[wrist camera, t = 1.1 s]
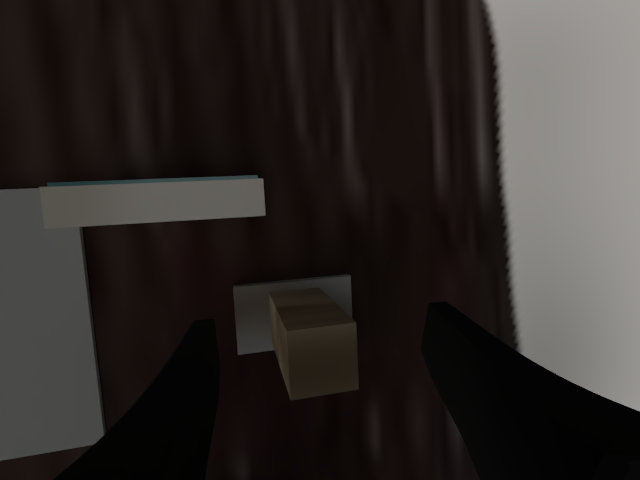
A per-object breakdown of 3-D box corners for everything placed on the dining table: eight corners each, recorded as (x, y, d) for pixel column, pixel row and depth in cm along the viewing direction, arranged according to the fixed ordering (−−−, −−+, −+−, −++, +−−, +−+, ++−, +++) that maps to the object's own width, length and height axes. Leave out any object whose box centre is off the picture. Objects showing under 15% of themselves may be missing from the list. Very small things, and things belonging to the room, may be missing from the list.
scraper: (350, 336, 25) (401, 392, 18) (237, 351, 24) (242, 420, 16) (347, 274, 25) (399, 305, 17) (232, 285, 23) (235, 325, 16)
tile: (253, 210, 23) (265, 215, 16) (102, 219, 21) (44, 228, 14) (251, 181, 23) (262, 175, 16) (99, 188, 21) (38, 182, 14)
